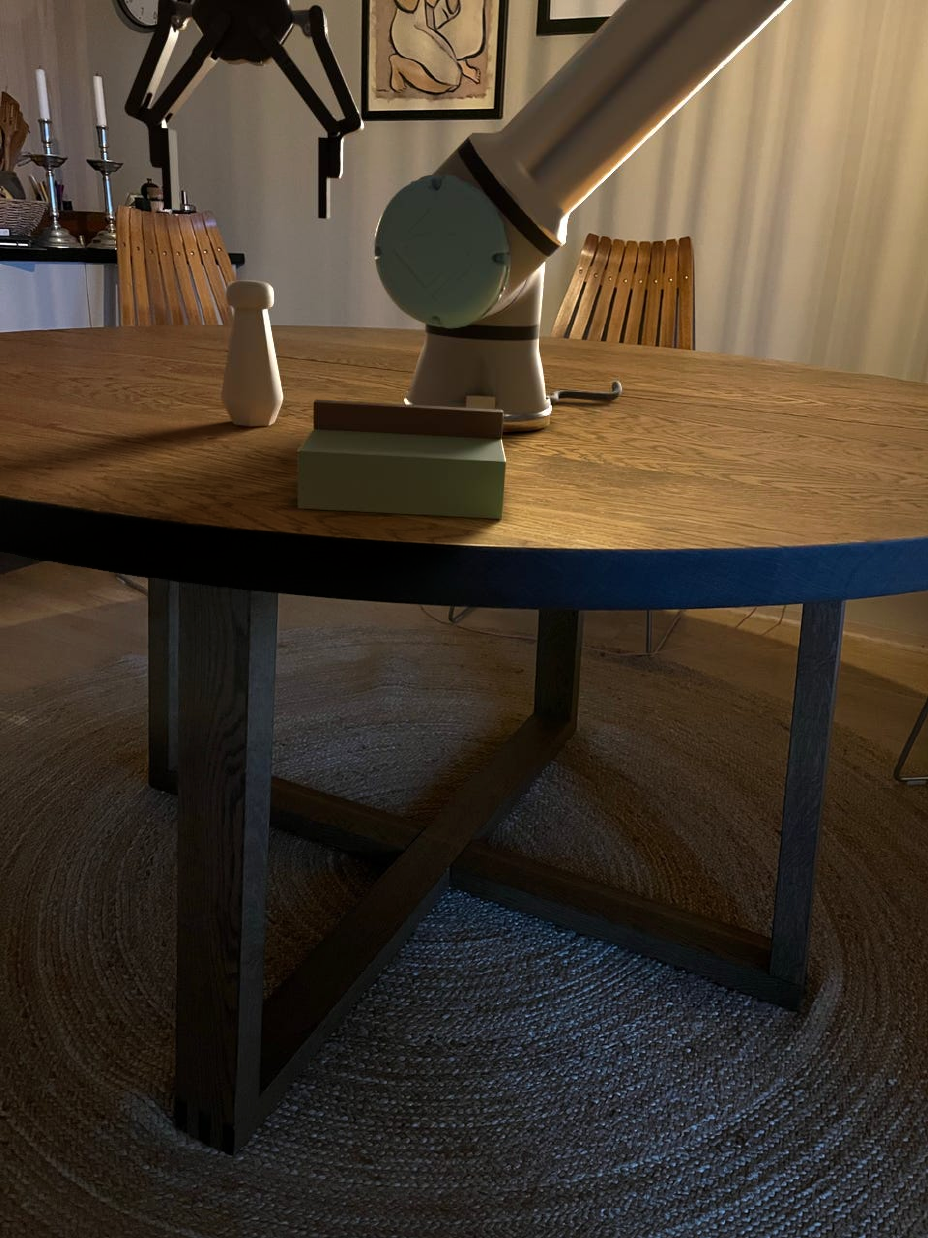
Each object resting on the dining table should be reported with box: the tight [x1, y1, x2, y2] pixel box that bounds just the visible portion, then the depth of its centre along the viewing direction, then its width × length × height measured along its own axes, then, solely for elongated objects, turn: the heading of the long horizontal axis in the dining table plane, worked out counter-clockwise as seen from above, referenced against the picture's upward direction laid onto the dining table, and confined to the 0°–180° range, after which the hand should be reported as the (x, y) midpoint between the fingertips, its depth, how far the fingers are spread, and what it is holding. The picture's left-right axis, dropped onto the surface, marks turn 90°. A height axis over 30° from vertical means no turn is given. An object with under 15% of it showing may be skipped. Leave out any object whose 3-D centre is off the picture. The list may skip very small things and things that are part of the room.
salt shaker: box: [220, 279, 284, 427], centre depth 94 cm, size 6×6×13 cm
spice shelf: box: [297, 399, 507, 520], centre depth 71 cm, size 9×14×6 cm, turn 90°
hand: (248, 214), depth 89 cm, fingers open, 13 cm apart
